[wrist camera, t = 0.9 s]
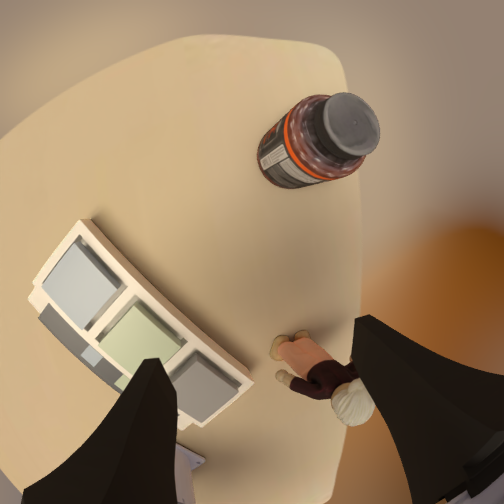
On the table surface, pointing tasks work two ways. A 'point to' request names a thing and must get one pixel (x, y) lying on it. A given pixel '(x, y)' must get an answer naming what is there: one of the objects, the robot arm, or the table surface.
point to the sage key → (139, 339)
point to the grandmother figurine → (323, 378)
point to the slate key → (80, 285)
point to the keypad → (117, 305)
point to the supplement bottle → (319, 141)
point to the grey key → (201, 388)
